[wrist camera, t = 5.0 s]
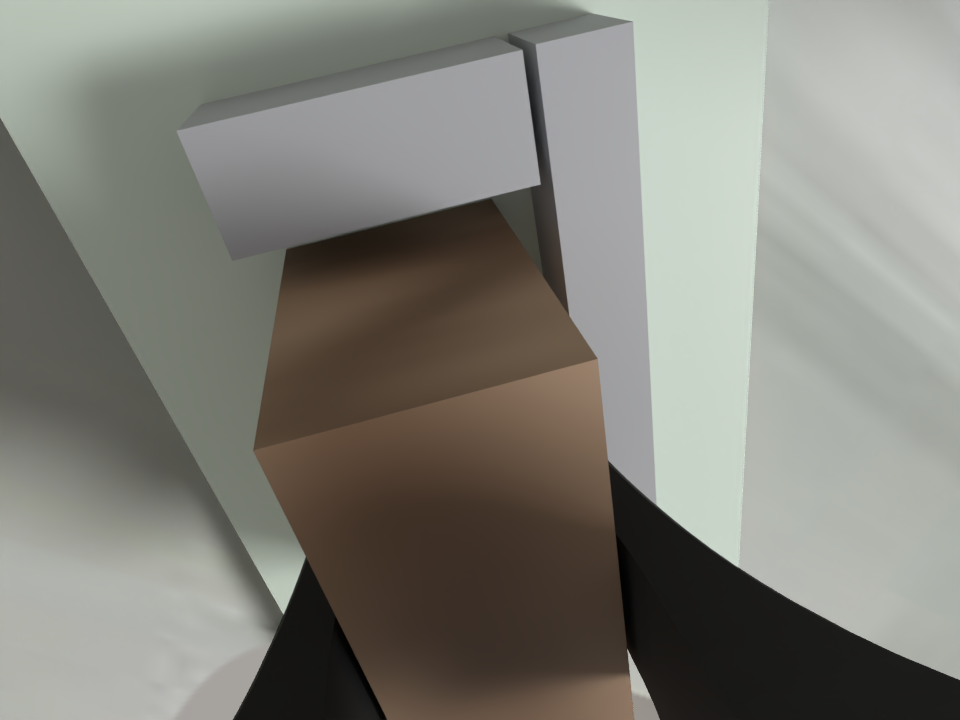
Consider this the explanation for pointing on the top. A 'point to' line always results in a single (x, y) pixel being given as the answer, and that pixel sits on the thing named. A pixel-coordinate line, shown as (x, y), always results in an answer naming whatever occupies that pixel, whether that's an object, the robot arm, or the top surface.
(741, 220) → the board
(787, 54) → the top surface
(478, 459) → the brown rectangular box
